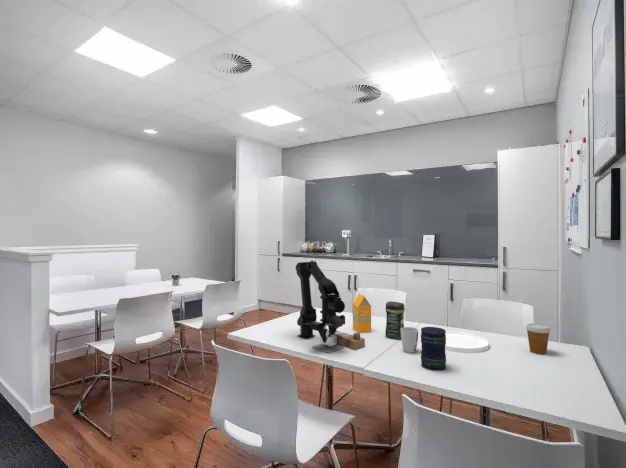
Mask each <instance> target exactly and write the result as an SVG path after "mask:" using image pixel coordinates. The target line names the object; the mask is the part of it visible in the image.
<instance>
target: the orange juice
mask: <svg viewBox="0 0 626 468" xmlns="http://www.w3.org/2000/svg"><path fill="white" fill-rule="evenodd" d="M352 330H353V331H355V333H360V334H366V333H367V334H368V333H372V305H371V304H370V303H369V301H368V299H367V298H366V297H365V295H362V294H359V293H358V295H357V297H356V298H355V300H354V302H353V303H352Z"/></svg>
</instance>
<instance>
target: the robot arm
mask: <svg viewBox="0 0 626 468" xmlns="http://www.w3.org/2000/svg"><path fill="white" fill-rule="evenodd" d="M295 271H296V275H297V276H298V278H299V280H300V290H301V302H302V305H301V306H302V307H301V309H300V311H299V317H298V318H297V320H296V324H297V326H299V329H300V334H298V335H297V336H298V337H299V338H302V339H305V340H306V339H310V338H313V337H315V336H316V335H315V334H314V331H316V332H318V333H319V337H320V336H321V338H322V340H323V342H324V343H325V342H326V332H327V331H328V330H329V333H332V334H334V335H335V332H336V331H338V329H339V328H340V327H343V325H345V324H346V316H345V315H344V314H342V313H343V312H344V310H345V308H346V304H345V302H344V301H343V300H342V298H341V295H340V292H339V291H338V287H337V285H336V283H334V281H333V280H331V279H330V278H327V276H326V275H325V274H324V273H323V271H322V269H321V268H320V267H319V265H318V262H317V261H314V260H313V261H301V262H297V263H296V265H295ZM311 276H312V277H313V278H314V280H315V281H316V283H317V284H318V286H317V287H318V288H317V289H318V291H319V293H320V294H321V295H319V299H321V310H320V311H319V312H320V314H321V318H320V319H319V321H320V322H319V321H317V318H318V317H317V309H316V308H314V307H313V305H312V304H313V303H312V294H311V293H312V291H311V281H310V278H311ZM337 313H338V314H341V315H337ZM327 327H328V328H327Z"/></svg>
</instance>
